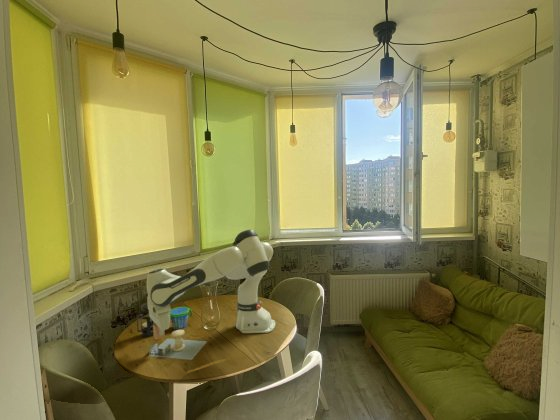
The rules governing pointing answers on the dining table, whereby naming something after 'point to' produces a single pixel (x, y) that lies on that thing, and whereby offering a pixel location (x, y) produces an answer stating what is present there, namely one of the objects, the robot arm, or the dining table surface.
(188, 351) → the bobbin board
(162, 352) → the notch block
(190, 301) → the dining table surface
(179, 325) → the snack cup
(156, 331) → the tab block
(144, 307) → the french press
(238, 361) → the dining table surface
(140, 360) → the dining table surface
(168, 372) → the dining table surface
